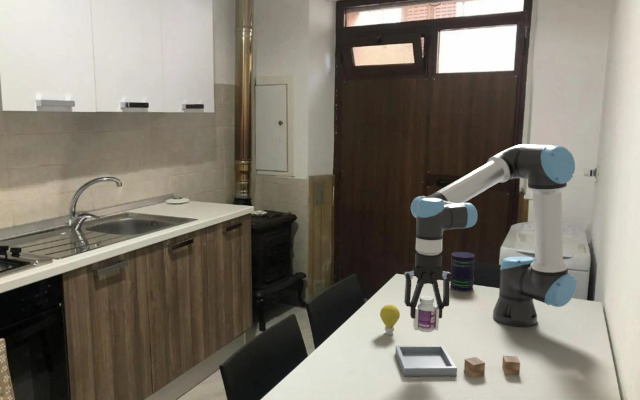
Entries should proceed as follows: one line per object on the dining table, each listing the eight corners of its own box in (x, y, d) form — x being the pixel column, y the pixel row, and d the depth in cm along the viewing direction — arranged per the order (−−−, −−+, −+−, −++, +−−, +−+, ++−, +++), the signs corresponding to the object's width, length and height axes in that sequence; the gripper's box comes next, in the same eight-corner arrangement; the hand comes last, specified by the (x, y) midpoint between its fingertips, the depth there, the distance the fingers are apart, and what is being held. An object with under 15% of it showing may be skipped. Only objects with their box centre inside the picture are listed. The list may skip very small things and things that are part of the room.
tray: (443, 352, 162) (443, 345, 162) (456, 376, 148) (457, 367, 147) (395, 353, 162) (395, 345, 162) (404, 376, 147) (404, 368, 147)
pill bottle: (434, 333, 150) (436, 301, 149) (416, 331, 151) (417, 300, 150) (434, 326, 155) (435, 295, 154) (416, 324, 156) (417, 294, 155)
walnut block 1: (475, 369, 152) (476, 356, 151) (484, 375, 148) (485, 362, 148) (464, 371, 150) (464, 359, 150) (472, 378, 147) (473, 365, 146)
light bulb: (400, 330, 180) (401, 303, 178) (397, 338, 173) (398, 309, 172) (381, 328, 182) (382, 300, 180) (377, 335, 175) (378, 307, 174)
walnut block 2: (516, 369, 152) (517, 356, 152) (519, 375, 148) (520, 362, 148) (502, 368, 153) (502, 355, 152) (504, 374, 149) (505, 361, 148)
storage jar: (450, 290, 222) (452, 256, 220) (448, 283, 231) (450, 251, 229) (474, 292, 220) (476, 257, 218) (472, 284, 230) (473, 252, 227)
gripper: (456, 248, 154) (453, 323, 157) (394, 248, 153) (392, 323, 157) (464, 255, 146) (460, 333, 150) (399, 255, 146) (396, 333, 149)
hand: (425, 328), depth 153 cm, fingers closed on pill bottle, 5 cm apart
